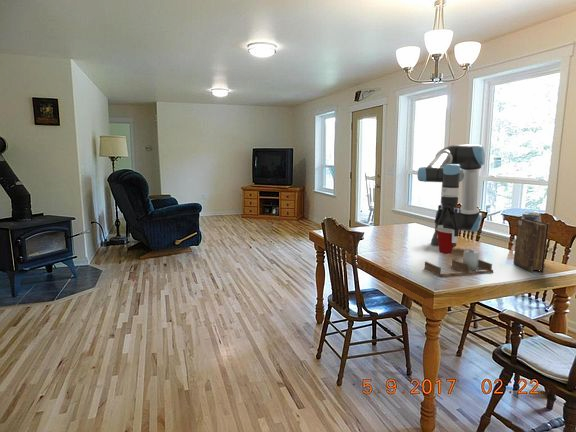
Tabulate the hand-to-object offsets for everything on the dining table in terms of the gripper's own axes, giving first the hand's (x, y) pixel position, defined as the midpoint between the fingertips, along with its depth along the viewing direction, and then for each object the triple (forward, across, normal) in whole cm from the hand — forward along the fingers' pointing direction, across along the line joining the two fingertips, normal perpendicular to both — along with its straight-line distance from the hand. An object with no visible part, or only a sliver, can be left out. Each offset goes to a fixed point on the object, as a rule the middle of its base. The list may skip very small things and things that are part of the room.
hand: (446, 240), depth 186 cm
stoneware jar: (+16, 0, +15) cm, 22 cm away
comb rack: (+16, +1, +7) cm, 17 cm away
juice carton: (+16, -8, +59) cm, 61 cm away
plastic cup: (+7, 0, 0) cm, 7 cm away
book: (+16, +6, +45) cm, 48 cm away
